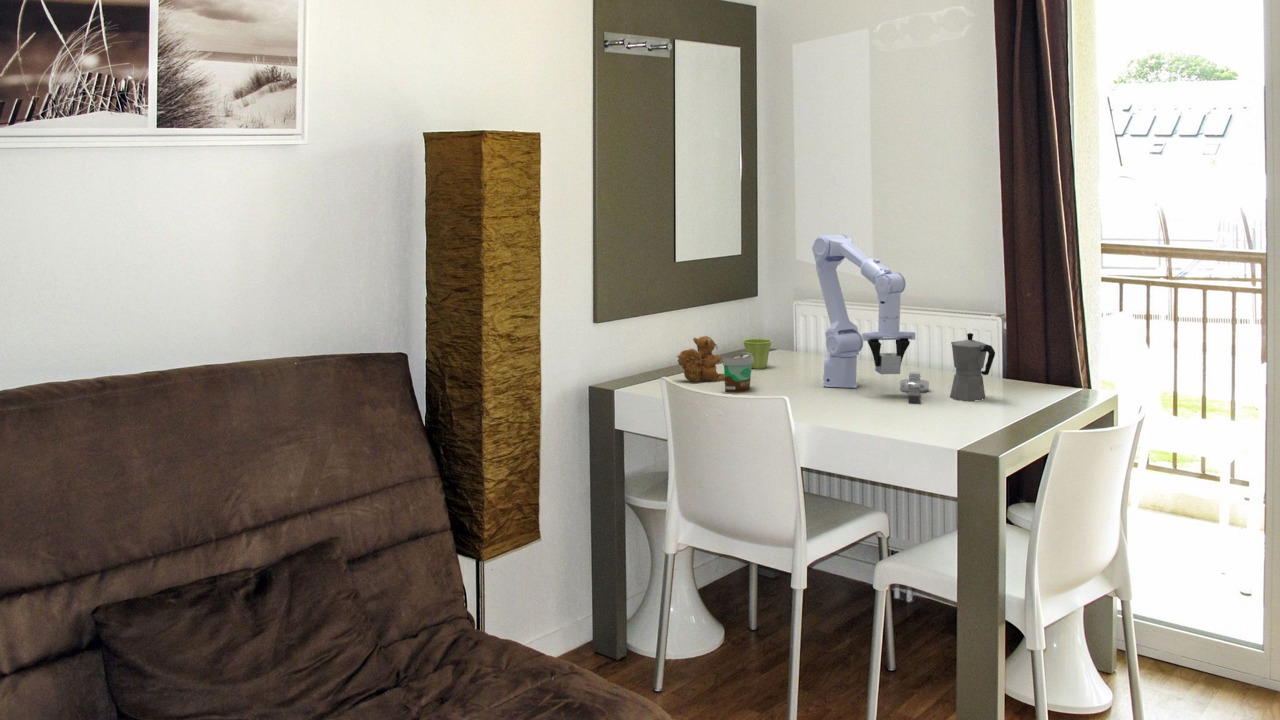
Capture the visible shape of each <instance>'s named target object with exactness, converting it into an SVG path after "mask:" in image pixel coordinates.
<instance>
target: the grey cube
mask: <svg viewBox="0 0 1280 720" xmlns="http://www.w3.org/2000/svg"><path fill="white" fill-rule="evenodd" d="M874 366H875V365H874ZM901 366H902V362H901V356H900V355H898V354H896V352H880V365H879V367H877V366H875V367H874V368H875V369H874V370H875V372H877V373H878V374H880V375H900V374H901Z"/></svg>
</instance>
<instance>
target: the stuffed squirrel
mask: <svg viewBox="0 0 1280 720" xmlns="http://www.w3.org/2000/svg"><path fill="white" fill-rule="evenodd" d="M692 341H693V342H694V344H695V345H696V348H697V350H696V349H695V348H689V349H685V350H681V352H680V353H679V354H678V355H676V356H675V357H676V358H677V362H678V365H680V367H682V369H683V373H684V374H683V375H684V378H685V379H686V380H687V381H689V382H692V383H697V384H698V383H699V382H720V381H725V377H724V373H719V372H717V365H716V364H719V363H720V362H721V361H722V357H721V355H720V354H716V355H714V354H713V351H714V349H716V350H718V349H719V346H718V345H717V344H716V343H715V341H714V340H713V339H712V338H711V337H710V336H708V335H704V336H700V337H697V338H696V337H693V339H692Z"/></svg>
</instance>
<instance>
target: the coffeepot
mask: <svg viewBox="0 0 1280 720" xmlns="http://www.w3.org/2000/svg"><path fill="white" fill-rule="evenodd" d="M966 336H967V339H964V340H957V341H951V349H952V356H953V357H952V358H953V365H954V366H953V367H954V368H955V374H954V377H953V380H952V381H953V382H952V385H951V391H950V394H949V397H950V398H951V399H952V398H953V399H952V400H955V399H956V401H960V400H963V401H962V402H976V401H975V400H981V401H983V400H982V399H986V393H985V386H984V378H983V376H987V375H989V373H990V371H991V367H992V364H993V362H994V358H995V355H996V352H995V350H994V348H993V346H992V345H990V344H986V343H985V342H981V341H978V340H973V338H974V334H973V333H972V332H969V333H966ZM987 353H988V356H986V355H987ZM986 357H987V359H986ZM985 360H987V361H985ZM985 362H986V364H985ZM984 365H985V366H984ZM984 367H985V370H982V369H984Z"/></svg>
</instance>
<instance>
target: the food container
mask: <svg viewBox="0 0 1280 720" xmlns="http://www.w3.org/2000/svg"><path fill="white" fill-rule="evenodd" d="M752 363H754V359H753V356H752V354H750V353H746V351H741V353H740V355H738V356H732V357H723V361H722V366H723V370H724V372H723V374H724V377H725V380H724V392H727V393H741V392H742V393H743V392H744V393H745V392H748V391H749V390H750V389H751V375H752V368H751V367H752Z"/></svg>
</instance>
